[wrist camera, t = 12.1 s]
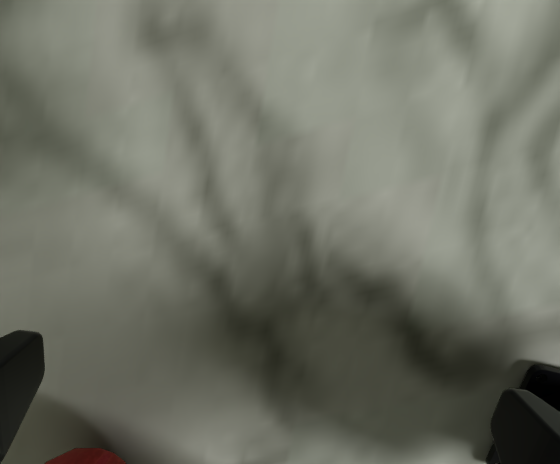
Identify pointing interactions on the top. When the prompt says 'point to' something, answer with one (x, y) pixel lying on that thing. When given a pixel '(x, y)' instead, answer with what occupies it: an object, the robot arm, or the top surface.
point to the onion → (87, 457)
